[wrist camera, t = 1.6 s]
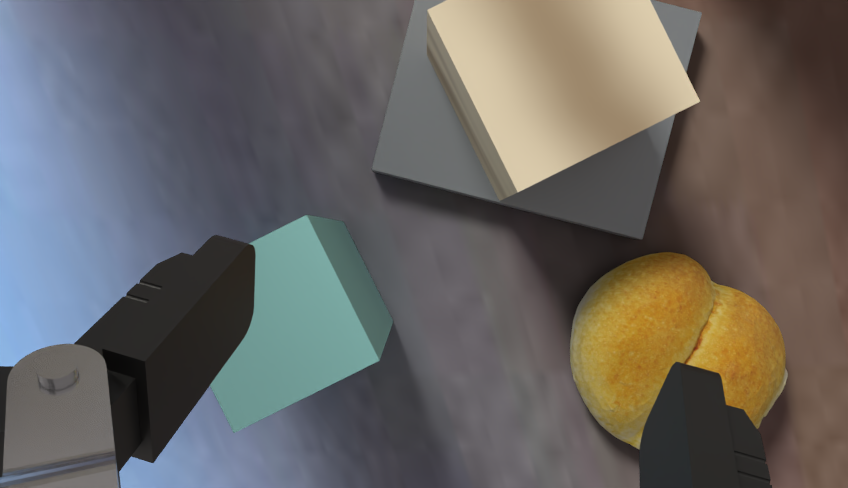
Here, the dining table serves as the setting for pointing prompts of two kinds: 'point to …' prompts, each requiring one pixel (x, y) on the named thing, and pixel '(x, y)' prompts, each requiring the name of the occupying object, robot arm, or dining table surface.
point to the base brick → (553, 79)
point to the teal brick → (302, 321)
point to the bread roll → (670, 341)
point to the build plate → (552, 197)
